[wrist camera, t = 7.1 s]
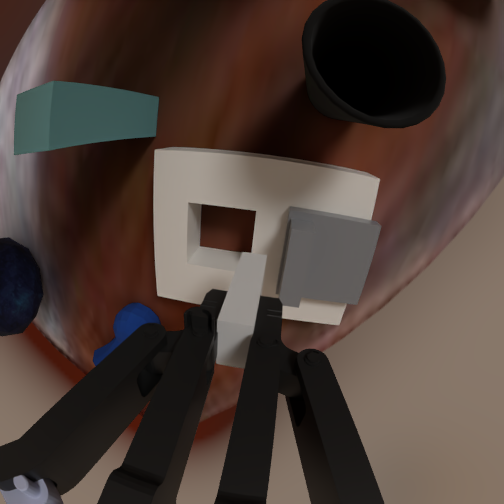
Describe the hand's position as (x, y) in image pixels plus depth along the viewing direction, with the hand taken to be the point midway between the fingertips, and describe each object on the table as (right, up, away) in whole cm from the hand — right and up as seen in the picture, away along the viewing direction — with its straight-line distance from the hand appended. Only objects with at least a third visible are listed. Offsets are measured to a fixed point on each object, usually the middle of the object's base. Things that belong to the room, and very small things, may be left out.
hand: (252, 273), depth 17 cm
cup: (+7, +15, +3) cm, 17 cm away
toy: (-17, -11, +18) cm, 27 cm away
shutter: (+6, +1, +5) cm, 8 cm away
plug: (-11, +15, +6) cm, 19 cm away
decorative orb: (-36, -1, +16) cm, 40 cm away
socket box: (+1, +4, +9) cm, 10 cm away
